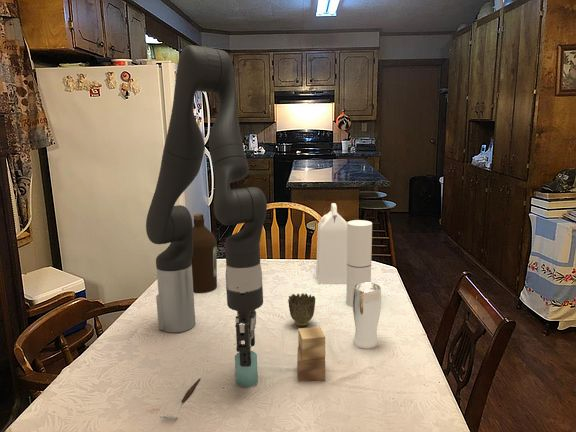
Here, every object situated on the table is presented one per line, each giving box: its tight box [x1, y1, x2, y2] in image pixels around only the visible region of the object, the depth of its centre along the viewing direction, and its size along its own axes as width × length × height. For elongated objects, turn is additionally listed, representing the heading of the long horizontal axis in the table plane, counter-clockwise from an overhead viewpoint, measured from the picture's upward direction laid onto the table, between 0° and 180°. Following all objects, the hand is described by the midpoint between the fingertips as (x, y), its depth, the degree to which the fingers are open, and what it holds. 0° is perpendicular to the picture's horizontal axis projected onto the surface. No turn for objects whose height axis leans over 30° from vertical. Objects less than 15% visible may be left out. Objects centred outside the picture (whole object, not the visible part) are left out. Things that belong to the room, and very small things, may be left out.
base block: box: [296, 348, 326, 382], centre depth 104 cm, size 6×6×5 cm
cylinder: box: [234, 350, 259, 388], centre depth 102 cm, size 5×5×6 cm
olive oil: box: [192, 213, 218, 294], centre depth 154 cm, size 11×11×25 cm
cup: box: [287, 293, 316, 328], centre depth 127 cm, size 8×7×8 cm
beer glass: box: [352, 282, 382, 350], centre depth 116 cm, size 7×7×15 cm
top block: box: [297, 326, 326, 360], centre depth 103 cm, size 5×5×5 cm
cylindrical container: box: [345, 219, 373, 308], centre depth 139 cm, size 7×7×25 cm
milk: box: [315, 202, 348, 285], centre depth 161 cm, size 12×12×26 cm
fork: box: [159, 378, 201, 420], centre depth 96 cm, size 3×16×2 cm, turn 167°
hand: (247, 355), depth 101 cm, fingers open, 8 cm apart
